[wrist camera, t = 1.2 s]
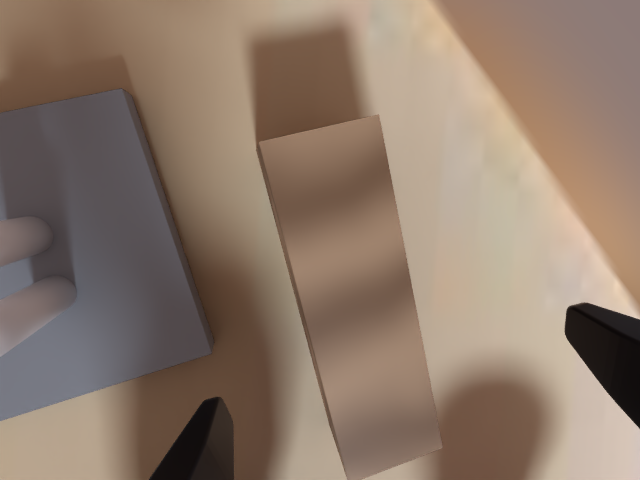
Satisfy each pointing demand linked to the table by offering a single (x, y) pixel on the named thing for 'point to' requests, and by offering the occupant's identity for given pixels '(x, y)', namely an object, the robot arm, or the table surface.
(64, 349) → the peg stand
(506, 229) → the table surface
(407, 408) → the brown rectangular block
